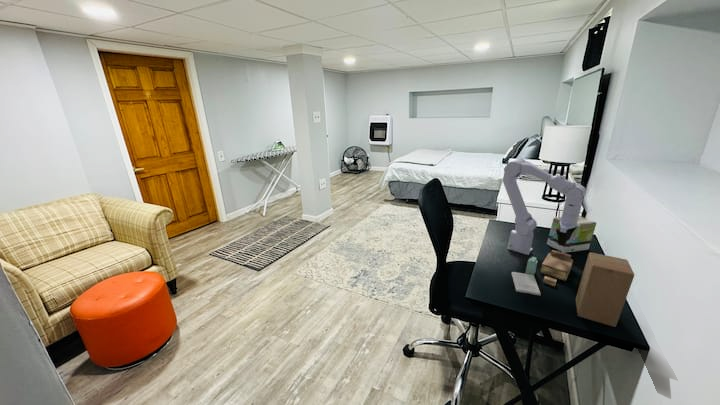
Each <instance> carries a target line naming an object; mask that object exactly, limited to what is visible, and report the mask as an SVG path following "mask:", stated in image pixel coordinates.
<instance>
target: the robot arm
mask: <svg viewBox="0 0 720 405" xmlns="http://www.w3.org/2000/svg"><path fill="white" fill-rule="evenodd" d="M503 171H504V172H503V176H502V177H503V178H502V183H503V185H504V188H505V191H506V193H507V196H508V199H509V201H510V204H511V208H512V210H513V212H514V215H515V218H514V223H515V229H512V230H511V231H510V234H509V237H508V243H507V248H506V249H507V250H511V251H513V252H517V253H521V254H524V255H528V256H529V255H530V254H531V252H532V251H533V249H534V248H533V247H532V244H533V240H534V230H535V229H536V228H537V225H538V224H537V220H536V219H534V217H533V216H532V214H531V213H530V212H529V211H528V208H527V205H526V204H525V200H524V198H523V196H522V195H523V194H521V190H520V187H519V185H518V179H519V177H520V176H521V175H530V176H531V175H532V176H534V177H535V178H538V179H539V180H542V181H544V182H545V183H547V185H548V187H549V188H551V189H553V190H555V191H557V192H558V193H559V194H562V195H564V196H565V202H564V205H563V209H562V212H561V216H560V217H561V221H560V226H561V229H559V228H557V229H556V233H557V236H558V245H561V246H564V245H565V244H566V241H567V240H569V239H570V237H571V235H572V234H573V232H574V230H575V229H576V228H577V227H578V228H579V227H580V225H578V224H577V221H578V218H579V216H580V213H581V209H582V207H583V206H582V205H583V204H582V203H583V202H584V200H583V199H584V197H585V196H586V194H587V189H586V187H585V186H583V185H582V184H580V183H576V182H574V181H573V182H572V181H570V180H568V179H566V178H565V176H564V175H557V174H556V175H552V174H550V173H549V172H547V171H545V170H544V169H542V168H540V167H538V166H537V165H535V164H533V163H532V162H530V161H527V160H526V159H523V158H518V159H515V160H513V161H509V162H507V164H506V165H505V167H504V168H503Z"/></svg>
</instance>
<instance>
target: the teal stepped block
mask: <svg viewBox="0 0 720 405" xmlns="http://www.w3.org/2000/svg"><path fill="white" fill-rule="evenodd" d="M537 259H538V258H537V257H535V256H531V257H529V258H528V260H527V265H526V268H525V272H524V274H530V275H534V276H535V274H536V270H537V266H538V262H539V260H537Z"/></svg>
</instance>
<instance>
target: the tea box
mask: <svg viewBox="0 0 720 405" xmlns="http://www.w3.org/2000/svg"><path fill="white" fill-rule="evenodd" d="M561 217H562V216H560V217H553V219H552V223H551V227H550V231H549V234H548V238H547V242H546V245H548V246H550V247H551V248H553V249H555V250H556V249H557V250H556V251H558V250H559V251H558V252H560V251H561V253H565V254H568V253H572V252H573V253H574V252H580V251H587V250H589V248H590V245H591V242H592V239H593V235H594V233H595V229H596V226H597V222H596V221H594V220H591V219H588V218H586V217H583V216H582V215H579V218H578V221H577V224H578V225H580V227H579V228H578V227H577V228H576V229H575V230H574V232H573V234H572V235H571V237H570V239H569V240H567V241H566V244H565V245H564V246H561V245H558V236H557V233H556V229H557V228H559V229H561V226H560V221H561Z"/></svg>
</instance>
